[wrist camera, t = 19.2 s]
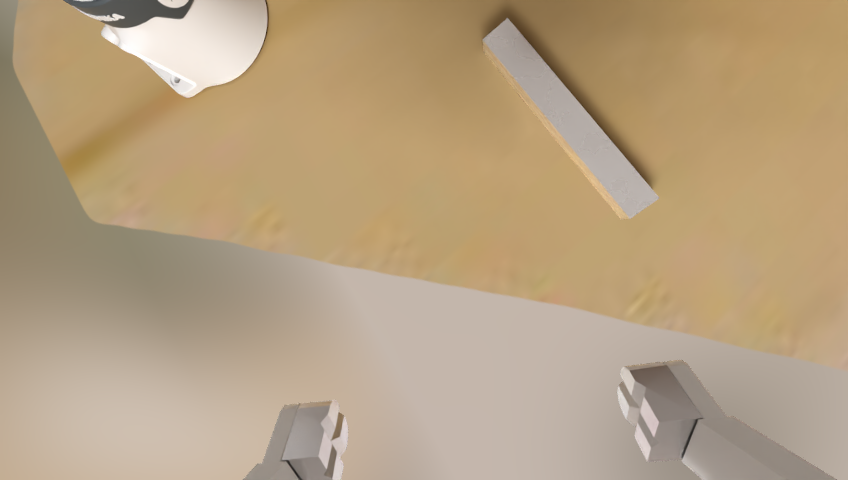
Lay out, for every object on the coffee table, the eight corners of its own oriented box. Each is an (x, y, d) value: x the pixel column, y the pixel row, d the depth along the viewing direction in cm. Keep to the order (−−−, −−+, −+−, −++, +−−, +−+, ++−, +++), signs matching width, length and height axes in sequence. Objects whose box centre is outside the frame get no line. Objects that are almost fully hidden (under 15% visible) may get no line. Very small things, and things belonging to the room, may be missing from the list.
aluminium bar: (646, 200, 36) (659, 198, 33) (619, 219, 36) (630, 218, 33) (507, 34, 38) (507, 17, 35) (484, 54, 39) (482, 39, 36)
